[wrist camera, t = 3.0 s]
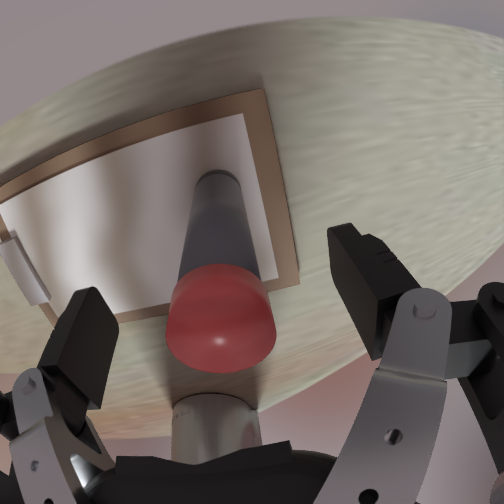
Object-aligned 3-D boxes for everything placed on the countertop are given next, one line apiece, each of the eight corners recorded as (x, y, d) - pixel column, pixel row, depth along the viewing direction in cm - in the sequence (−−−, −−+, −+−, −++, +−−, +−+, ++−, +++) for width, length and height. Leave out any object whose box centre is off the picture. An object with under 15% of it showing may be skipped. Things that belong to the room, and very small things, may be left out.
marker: (252, 184, 18) (298, 325, 8) (225, 222, 19) (236, 383, 9) (210, 158, 17) (200, 277, 7) (184, 198, 18) (148, 350, 8)
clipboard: (261, 88, 16) (265, 88, 15) (297, 278, 23) (302, 289, 22) (-14, 195, 17) (-24, 202, 15) (59, 328, 24) (54, 339, 23)
